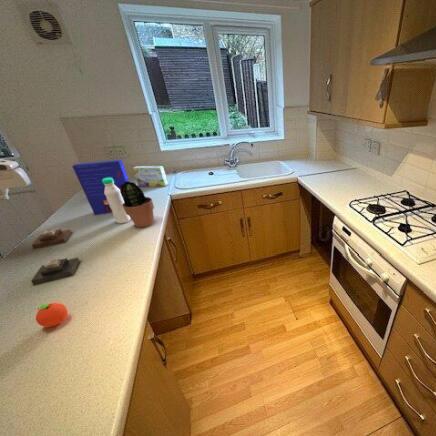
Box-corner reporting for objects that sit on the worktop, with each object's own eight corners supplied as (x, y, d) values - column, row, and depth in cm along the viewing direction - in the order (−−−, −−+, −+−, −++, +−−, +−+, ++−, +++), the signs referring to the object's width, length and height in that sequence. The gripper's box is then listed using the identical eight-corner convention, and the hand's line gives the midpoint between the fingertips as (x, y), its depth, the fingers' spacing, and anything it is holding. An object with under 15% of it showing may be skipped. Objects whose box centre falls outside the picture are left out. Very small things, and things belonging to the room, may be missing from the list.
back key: (44, 237, 115) (42, 233, 114) (47, 233, 118) (45, 230, 117) (53, 235, 116) (51, 232, 115) (56, 231, 119) (54, 228, 118)
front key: (46, 269, 93) (44, 266, 92) (50, 264, 96) (48, 260, 95) (58, 266, 94) (56, 263, 94) (61, 261, 97) (59, 258, 96)
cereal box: (137, 205, 154) (121, 158, 140) (136, 208, 149) (118, 161, 135) (97, 211, 148) (76, 163, 134) (94, 215, 143) (72, 165, 129)
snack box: (138, 186, 185) (131, 167, 178) (142, 184, 190) (136, 165, 183) (165, 186, 184) (159, 167, 177) (168, 184, 189) (163, 165, 182)
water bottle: (117, 225, 131) (99, 181, 119) (115, 220, 136) (98, 178, 124) (132, 221, 135) (115, 178, 123) (130, 216, 140) (114, 175, 128)
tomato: (33, 329, 73) (20, 313, 70) (57, 311, 79) (46, 295, 76) (55, 333, 72) (43, 317, 69) (77, 314, 78) (66, 299, 75)
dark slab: (33, 285, 91) (28, 277, 89) (44, 269, 99) (39, 261, 97) (73, 275, 95) (68, 267, 93) (80, 261, 103) (76, 254, 101)
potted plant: (163, 221, 134) (150, 178, 122) (139, 232, 124) (121, 187, 112) (150, 215, 140) (136, 174, 129) (126, 225, 130) (108, 182, 119)
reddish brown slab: (33, 248, 112) (29, 241, 110) (42, 238, 120) (38, 231, 119) (65, 242, 117) (61, 235, 115) (72, 232, 125) (68, 226, 123)
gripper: (-63, 171, 85) (-38, 206, 92) (14, 165, 93) (32, 197, 99) (-50, 167, 90) (-27, 200, 97) (22, 161, 98) (38, 192, 104)
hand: (3, 199), depth 98 cm, fingers closed
